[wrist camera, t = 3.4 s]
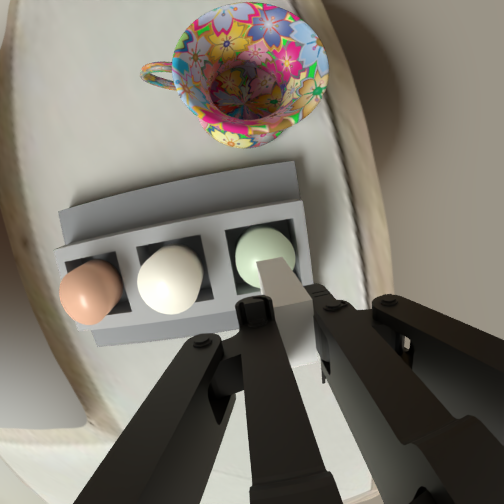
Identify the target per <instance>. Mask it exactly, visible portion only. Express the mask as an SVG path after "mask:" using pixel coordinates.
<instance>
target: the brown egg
mask: <svg viewBox="0 0 504 504" xmlns="http://www.w3.org/2000/svg"><path fill="white" fill-rule="evenodd" d="M122 293H123V282H122V279H121V276H120V274H119V272H118V271H117V269H116V268H115V267H114V266H113V265H112V264H110V263H109V262H107V261H105V260H101V259H93V260H90V261H88V262H86V263H84V264H83V265H81V266H79V267H77V268H76V269H74V270H72V271H71V272H69V273H68V274H66V275H65V276H64V278H63V279H62V281H61V284H60V289H59V294H60V300H61V303H62V305H63V307H64V309H65V311H66V312H67V313H68V315H69V316H70V317H71V318H73V319H74V320H75V321H77V322H79V323H81V324H84V325H94V324H97V323H99V322H100V321H102V320H103V319H104V317H105V316H106V315H107V314H108V313H109V312H110V311H111V310H112V308H113V307H114V306H115V305H116V304H117V303H118V302H119V300H120V299H121V297H122Z"/></svg>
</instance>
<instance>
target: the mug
mask: <svg viewBox="0 0 504 504" xmlns="http://www.w3.org/2000/svg"><path fill="white" fill-rule="evenodd" d="M153 72H171V73H172V75H173V81H171V80H167V79H163V78H160V77H157V76H155V75H152V74H150V73H153ZM140 77H141V79H142V80H144V81H145V82H147V83H150V84H152V85H155V86H158V87H162V88H166V89H170V90H175V91H177V92H178V94H179V96H180V98H181V99H182V101H183V102H184V104H185V105H186V106H187V107H188V108H189V109H190V110H191V111H192V112H193V113H194V114H195V115H196V116H198V118H199V121H200V123H201V125H202V126H203V128H204V129H205V131H206V132H207V133H208V134H209V135H210V136H211V137H213V138H214V139H215V140H217V141H218V142H220V143H222V144H225V145H227V146H231V147H235V148H254V147H258V146H262V145H264V144H267V143H269V142H270V141H272V140H274V139H275V138H276V137H277V136H279V135H280V134H281V133H282V131H283V130H284V129H286V128H288V127H290V126H292V125H294V124H296V123H298V122H299V121H301V120H302V119H304V118H305V117H306V116H307V115H309V114H310V113H311V112H312V111H313V110H314V109H315V107H316V106H317V105H318V103H319V102H320V100H321V99H322V97H323V95H324V93H325V90H326V87H327V84H328V79H329V64H328V58H327V54H326V51H325V48H324V46H323V44H322V42H321V40H320V39H319V37H318V36H317V34H316V33H315V32H314V31H313V29H312V28H311V27H310V26H309V25H308V24H307V23H305V22H304V21H303V20H302V19H300V18H299V17H298V16H296V15H294V14H293V13H291V12H289V11H287V10H284V9H282V8H279V7H276V6H273V5H269V4H264V3H256V2H242V3H234V4H229V5H225V6H221V7H219V8H216V9H214V10H211V11H209V12H207V13H206V14H204V15H202V16H201V17H199V18H198V19H197V20H195V21H194V22H193V23H192V24H191V25H190V26H189V27H188V28H187V29H186V31H185V32H184V33H183V35H182V36H181V38H180V39H179V41H178V43H177V45H176V48H175V51H174V55H173V59H172V62H154V63H149V64H147V65H145V66H143V67H142V69H141V72H140Z"/></svg>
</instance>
